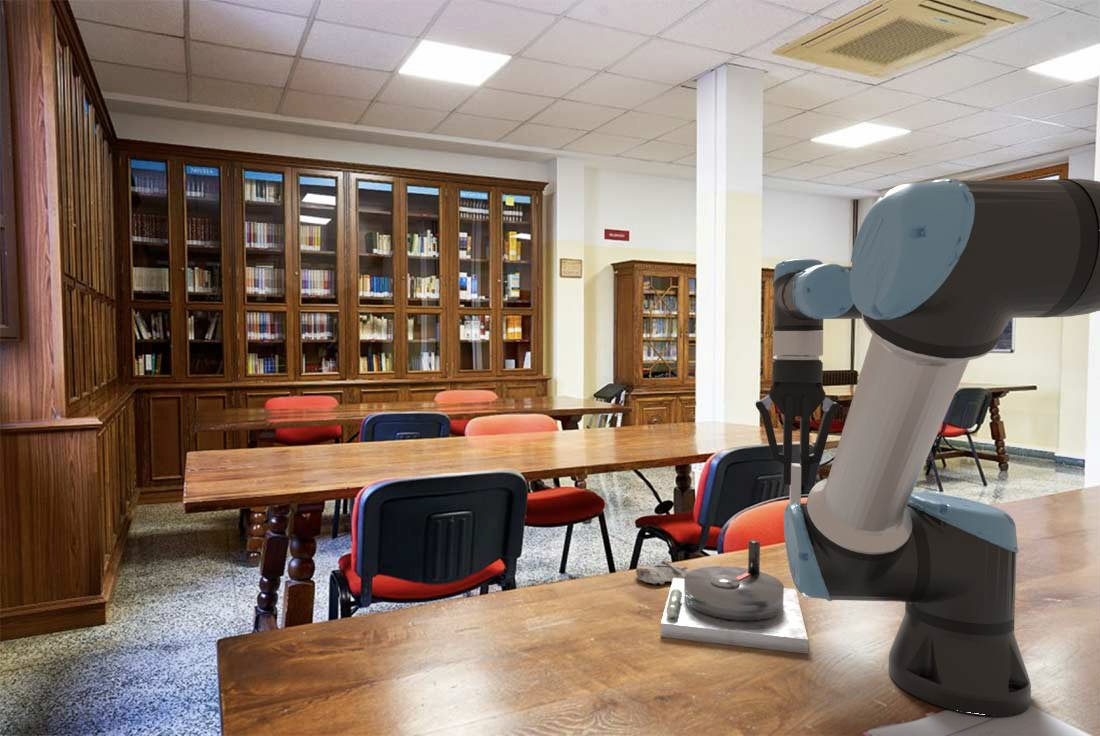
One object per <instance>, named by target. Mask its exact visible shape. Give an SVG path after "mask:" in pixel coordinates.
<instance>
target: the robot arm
mask: <svg viewBox="0 0 1100 736" xmlns="http://www.w3.org/2000/svg"><path fill="white" fill-rule="evenodd" d="M850 257H851V258H850V262H851V263H852V265H851V266H842V265H840V264H837V263H823V262H822V261H821V260H819V259H813V258H812V259H811V258H810V259H809V258H801V259H788V260H782V261H779V262H778V263H777V264H775V267H774V276H773V280H772V281H773V282H772V287H773V326H772V328H773V332H772V355H773V356H775V357H776V359H773V361H772V377H771V378H772V381H771V382H772V384H771V388H770V389H769V391H768V395H767V396H765V397H764V398H762V399H759V400H756V401H755V403H754V404H755V405H754V406H755V407H756V409H757V411H758V412H759V413H760V414H761V418H762V421H763V426H764V430H765V434H766V439H767V443H768V446H769V447H768V448H769V452H770V455H771V458H772V460H773V461H775V462H780V463H781V464H782V481H783V482H782V483H783V484H784V485H786V486H788V485H789V503H788V504H787V505H786V507H785V508H784V513H783V532H784V533H783V535H784V543H785V551H786V552H785V553H786V558H787V561H788V563H787V564H788V567H789V572H790V575H791V579H792V582H793V584H794V586H795V589H796V590H797V591H798V593H800V594H801V595H802V596H803V597H806V598H808V599H819V600H820V599H822V600H826V601H828V602H832V601H854V602H855V601H859V602H865V601H866V602H895V603H900V602H901V603H904V605H905V606H904V615H903V618H902V620H901V622H900V625H899V628H898V630H897V633H896V635H895V638H894V640H893V642H892V644H891V647H890V650H889V654H888V673H889V676H890V678H891V680H892V681H893V682H894V683H895V684H896V685H897V686H898V687H900V688H901V689H903V690H904V691H906V692H907V693H909V694H910V695H911V696H914V697H916V698H918V699H920V700H922V701H924V702H927V703H929V704H932V705H934V706H937V707H941V708H944V709H948V710H951V711H954V710H958V711H962V712H961V713H963V712H971V713H979V714H985V715H995V716H994V717H1008V716H1014V715H1015V716H1016V715H1019V714H1021V713H1024V712H1025V711H1026V710H1028V709H1029V707H1030V706H1031V701H1032V696H1031V695H1032V689H1031V688H1032V685H1031V680H1030V677H1029V673H1028V671H1027V668H1026V665H1025V662H1024V658H1023V656H1022V652H1021V650H1020V648H1019V645H1018V642H1017V641H1018V640H1017V639H1016V635H1015V634H1016V633H1015V615H1016V614H1015V613H1016V611H1015V610H1016V585H1017V583H1016V579H1017V554H1019V548H1018V537H1017V527H1016V523H1015V522H1016V521H1015V519H1014V518H1013V517H1012V516H1011V514H1009V513H1007V512H1006V511H1004V510H1003V509H1000V508H999V507H998V508H997V507H995V506H993V505H990V504H987V503H983V502H979V501H976V500H972V499H968V498H962V497H960V496H959V497H958V496H953V495H949V494H944V493H935V492H927V491H914V490H915V487H916V485H917V483H918V480H919V478H920V476H921V473H922V471H923V469H924V467H925V464H926V461H927V459H928V457H929V454H930V452H931V451H932V448H933V445H934V443H935V440H936V438H937V436H938V434H939V431H940V429H941V427H942V425H943V422H944V420H945V418H946V415H947V413H948V410H949V408H950V405H951V403H952V401H953V399H954V396H955V394H956V392H957V390H958V387H959V385H960V383H961V382H962V378H963V375H964V373H965V371H966V369H967V366H968V364H969V362H970V361H971V360H972V361H973V360H976V359H979V358H982V357H983V358H984V356H987V355H988V354H990V353H991V352H992V351H994V350H995V348H996V347H997V345H998V343H999V342H1000V339H1001V337H1002V335H1003V333H1004V331H1005V329H1006V326H1007V324H1008V323H1009V321H1010V320H1013V319H1014V318H1015V319H1016V318H1018V319H1020V318H1023V319H1025V318H1027V319H1029V318H1030V319H1031V318H1043V319H1044V318H1045V319H1046V318H1065V317H1075V316H1081V315H1083V316H1084V315H1089V314H1092V313H1096V312H1100V181H1099V180H1098V181H1097V180H1093V179H1084V178H1058V179H1000V180H998V179H992V180H991V179H989V180H986V179H984V180H959V179H956V178H944V179H942V178H941V179H940V178H939V179H936V180H934V181H926V182H925V181H924V182H912V183H911V182H910V183H909V182H908V183H905V184H900V185H897V186H895V187H893V188H891V189H890V190H889V191H888V192H886V193H885V194H883V195H881V196H880V197H879V198H878V199H877V200H876V201H875V202H874V203H873V205H872V206H871V207H870V209H869V210H868V212H867V213H866V215H865V217H864V219H863V221H862V222H861V225H860V227H859V230H858V232H857V235H856V238H855V241H854V244H853V248H852V251H851V256H850ZM837 319H838V320H859V319H860V320H862V322H863V324H864V326H865V328H867V330H868V331H869V332H870V333H871V338H870V340H869V341H870V342H869V344H868V348H867V349H866V350H867V351H866V355H865V357H864V360H863V364H862V368H861V370H860V373H859V377H858V379H857V382H856V387H855V389H854V393H853V396H852V399H851V402H850V406H849V408H848V412H847V416H846V419H845V422H844V424H843V428H842V432H841V435H840V438H839V441H838V443H837V448H836V450H835V454H834V458H833V460H832V464H831V468H830V471H829V474H828V477H827V478H824V479H821V480H820V481H818V482H817V483H816V484H814V486H813V487H811V490H810V491H809V493H808V496H807V499H806V502H805V503H802V499H801V498H802V486H808V484H809V477H810V476H809V469H810V466H811V465H812V464H815V463H820V462H821V461H822V459H823V455H824V451H825V448H826V445H827V441H828V438H829V434H830V430H831V425H832V423H833V419H834V417H835V416H836V415H837V413H838V412H839V411H840V409H841V405H840V404H839V403H837V402H836V401H833V400H831V399H830V398H828V397H827V395H826V392H825V390H824V385H823V374H824V373H823V367H824V366H823V365H824V364H823V362H822V359H820V357H822V356H823V355H824V320H837ZM771 403H773V404H774V406H776V408H777V409H778V411H779V412H780V414H782V415H783V417H782V418H783V419H782V420H783V424H782V425H783V429H782V430H783V433H782V453H780V452H779V448H778V442H777V439H776V438H777V437H776V434H775V430H774V427H773V422H772V418H771V415H770V412H769V411H771V410H772V406H771V405H772V404H771ZM821 404H823V405H822V407H821V408H822V411H823V412H824V413H823V414H822V417H821V420H820V424H819V428H818V432H817V435H816V439H815V442H814V446H813V449H812V453H810V428H811V427H810V424H811V416H812V415H813V414H814V413H815V412H816V411H817V409H818V408H819V407H820V405H821ZM794 417H799V421H800V422H799V463H798V462H797V463H793V459H792V458H793V421H794ZM958 711H957V712H958Z"/></svg>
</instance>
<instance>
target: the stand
mask: <svg viewBox="0 0 1100 736" xmlns="http://www.w3.org/2000/svg"><path fill="white" fill-rule="evenodd" d="M666 599H667V600H666V602H665V607H664V610H663V614H662V618H661V622H660V637H661V638H668V639H675V640H676V639H678V640H684V641H685V640H686V641H693V642H703V643H710V644H719V645H727V646H729V645H730V646H736V647H746V648H752V649H753V648H755V649H763V650H770V651H778V652H779V651H780V652H787V653H795V654H796V653H797V654H804V655H805V654H806V655H808V654H809V653H808V651H809V638H808V633H807V629H806V626H805V622H804V618H803V614H802V609H801V606H800V601H799V597H798V592H797V588H790V587H789V588H787V587H784V602H783V610H782V612H781V613H779V614H778V615H776V616H773V617H770V618H766V619H759V620H734V619H726V618H720V617H716V616H712V615H708V614H705V613H703V612H700V611H698V610H696V609H694V608H692V607H691V606H689V605H688V604H687V603H686V601H685V599H684V578H683V579H681V578H673V581H671V585H670V588H669V593H668V596H667V598H666Z"/></svg>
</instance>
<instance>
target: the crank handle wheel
mask: <svg viewBox="0 0 1100 736" xmlns="http://www.w3.org/2000/svg"><path fill="white" fill-rule="evenodd" d="M747 545H748V554H747V559H748V560H747V563H748V565H747V568H746V567H738V566H727V565H726V566H723V565H720V566H717V565H715V566H704V567H700V568H699V567H698V568H695V569H692V570H690V572H688V573H687V574H686V575H685V577H684V578H683V579H684V599H685V601H686V603H687V604H688V605H689V606H691V607H692V608H694V609H696V610H698V611H700V612H703V613H705V614H708V615H712V616H716V617H720V618H726V619H734V620H759V619H766V618H770V617H773V616H776V615H778V614H779V613H781V612H782V610H783V602H784V588H785V586H784V584H783V583H782V581H780V580H779V578H776V577H775V576H772V575H771V574H768V573H765V572H762V571H761V570H760V569H761V568H760V567H761V565H760V563H761V541H759V540H756V539H751V540H748V544H747Z"/></svg>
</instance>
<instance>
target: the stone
mask: <svg viewBox="0 0 1100 736" xmlns="http://www.w3.org/2000/svg"><path fill="white" fill-rule="evenodd" d="M649 567H650V568H649ZM643 568H645V569H643ZM690 571H691V569H689V567H684V566H681V565H679V564H678V565H677V564H672V563H667V562H666V560H661V562H656V563H653V564H651V565H647V566H646V565H645V566H644V565H642V566H641V565H640V566H638V567H637V568H636V569H635V573H636V577H637V578H636V579H637V580H638V581H640V582H641V581H643V582H644V583H647V584H648V583H649V584H653V585H657V584H660V586H661V585H665V582H672V581H673V578H681V579H684V577H685V575H686V574H687V573H688V572H690Z"/></svg>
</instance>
